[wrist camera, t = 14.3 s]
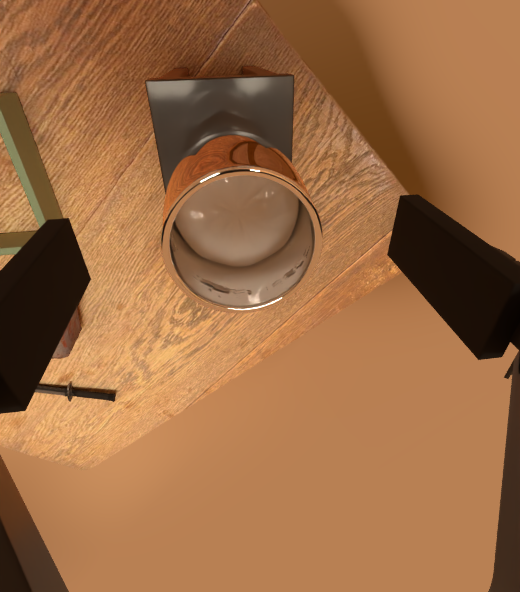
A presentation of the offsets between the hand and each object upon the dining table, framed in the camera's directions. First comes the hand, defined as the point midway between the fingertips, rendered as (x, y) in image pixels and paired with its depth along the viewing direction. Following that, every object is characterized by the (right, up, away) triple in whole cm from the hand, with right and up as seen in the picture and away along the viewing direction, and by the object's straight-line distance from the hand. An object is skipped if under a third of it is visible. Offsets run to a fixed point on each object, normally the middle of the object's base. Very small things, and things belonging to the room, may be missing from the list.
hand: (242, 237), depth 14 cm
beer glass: (-2, +8, +12) cm, 15 cm away
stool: (-4, +21, +30) cm, 37 cm away
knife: (-40, -20, +53) cm, 70 cm away
